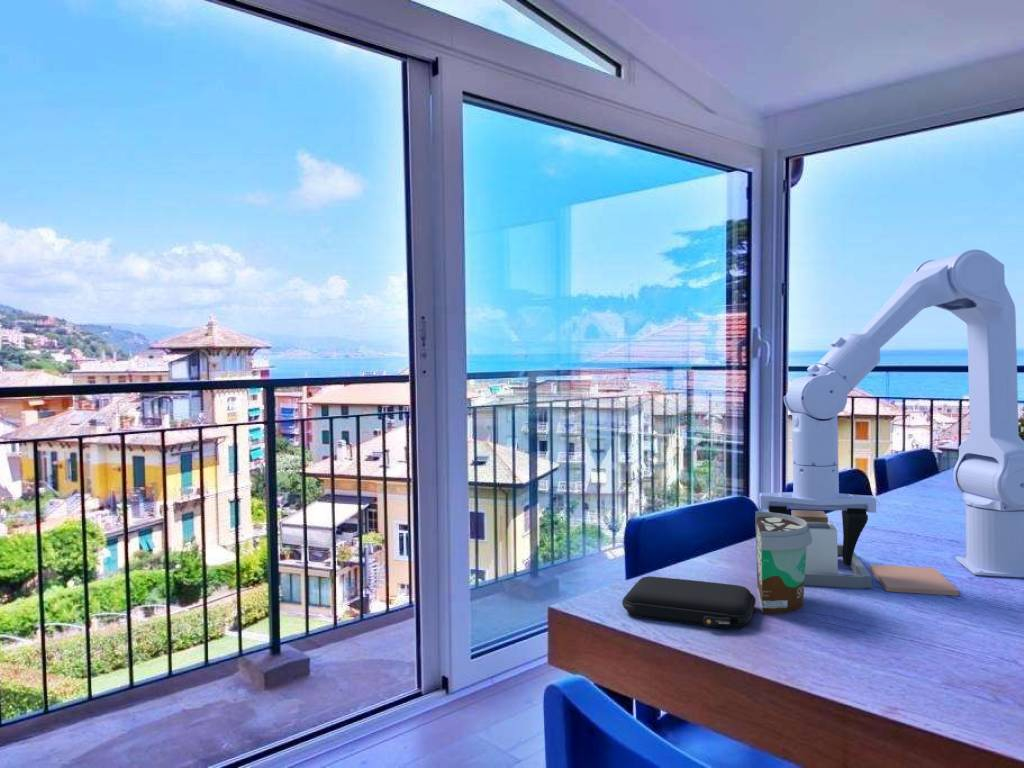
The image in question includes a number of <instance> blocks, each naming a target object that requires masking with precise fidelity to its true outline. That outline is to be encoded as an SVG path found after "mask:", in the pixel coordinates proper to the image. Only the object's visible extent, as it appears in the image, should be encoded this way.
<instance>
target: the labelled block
mask: <svg viewBox="0 0 1024 768" xmlns="http://www.w3.org/2000/svg"><path fill="white" fill-rule="evenodd" d="M807 526H808V527H809V529H810V533H811V537H812V543H811V544H810V545H808V546H807V547H806V564H805V572H818V573H836V574H839V573H838V572H839V570H838V569H839V566H838V565H839V564H838V563H839V561H838V556H839V555H838V553H837V544H838V530H837V528H836V527H835V525H834V524H833V523H832V522H828V523H827V522H807Z"/></svg>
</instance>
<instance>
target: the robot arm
mask: <svg viewBox="0 0 1024 768" xmlns="http://www.w3.org/2000/svg"><path fill="white" fill-rule="evenodd" d="M1005 278H1006V277H1005V264H1004V263H1002V262H1001V261H1000V260H998V259H996V257H994V256H992V255H991V254H990V253H989V252H987V251H985V250H981V249H968V250H965V251H963V252H961V253H958V254H953V255H950V256H946V257H941V258H937V259H929V260H926V261H923V262H922V263H920V264H919V265H918V266H917V267H915V269H914V271H913V272H911V273H909V274H908V275H907V276H905V277H904V278H903V280H902V282H901V284H900V286H899V287H898V288H897V289H896V291H894V293H893V294H892V295H891V296H890V297H889V298H888V300H887V301H886V302H885V303H884V304H883V305H882V306H881V307H880V309H878V311H877V312H876V313H875V314H874V316H872V318H871V319H870V320H869V321H868V322H867V323H866V325H865V326H863V328H862V329H861V330H860V332H858V333H848V334H847V333H845V334H844V335H843V336H842V337H834V339H833V340H832V341H830V343H829V344H830V346H831V348H830V349H829V350H828V351H827V352H826V353H825V354H824V355H823V356H822V358H820V359H819V361H818V362H816V363H815V364H814V363H813V364H811V365H810V366H808V367H807V369H806V371H807V375H804V376H802V377H797V378H796V379H794V380H793V381H792V382H791V383H790V384H789V387H788V388H787V392H786V395H784V396H783V403H784V406H785V407H786V409H787V410H788V411H789V413H790V414H791V418H792V421H791V423H792V425H791V427H792V429H791V432H792V433H791V435H792V436H791V439H792V440H791V441H792V481H793V483H792V484H793V485H792V488H793V490H792V491H790V492H789V491H787V492H785V491H784V492H759V508H760V510H768V512H772V513H780V514H786V515H790V514H789V513H790V512H789V509H790V510H809V511H841V517H842V518H841V520H842V532H843V533H842V535H843V537H842V538H843V539H842V545H843V556H842V562H843V564H844V565H845V566H847V567H850V566H851V562H852V556H853V552H854V553H855V548H856V545H857V543H858V540H859V538H860V536H861V533H862V532H863V530H864V528H865V526H866V525H867V523H868V519H869V515H868V514H867V513H877V498H876V497H875V496H874V495H863V494H850V493H840V489H839V488H840V486H839V484H840V481H839V479H840V478H839V477H840V476H839V475H840V474H839V473H840V472H839V471H840V470H839V429H838V415H839V414H840V413H842V412H844V410H845V408H846V405H847V402H848V395H849V394H850V393H851V392H852V391H853V390H854V389H855V388H856V387H857V386H858V385H859V384H860V383H861V382H862V381H863V379H865V377H867V376H868V375H869V374H870V372H871V371H872V370H874V369H875V367H877V365H878V364H879V363H880V361H881V348H883V346H885V345H886V344H887V342H889V341H890V340H891V339H892V338H893V337H895V335H897V333H899V332H900V331H901V330H902V329H903V328H904V327H905V326H906V325H908V323H910V321H912V320H913V319H914V318H915V317H916V316H918V315H919V313H921V312H922V311H923V310H925V309H926V308H930V307H937V308H939V309H942V310H944V311H948V312H950V313H952V314H953V315H954V316H956V317H957V318H958V319H960V320H961V321H963V322H964V323H965V324H966V327H967V328H966V330H967V331H966V332H967V363H968V364H967V365H968V367H967V368H968V373H967V374H968V406H969V407H968V408H969V435H968V437H967V438H965V440H964V441H963V442H962V443H961V444H960V445H959V447H958V460H957V461H956V464H955V466H954V467H953V468H954V469H953V473H952V479H953V483H954V485H955V487H956V489H958V491H959V492H960V493H962V501H964V502H965V544H966V545H965V549H966V550H965V552H966V553H965V554H966V556H962V555H961V556H960V555H959V556H957V555H956V556H955V560H956V561H958V562H959V563H960V564H961V565H962V566H964V567H965V568H966V569H967V570H968V571H970V572H971V573H972V574H973V575H975V576H990V577H994V576H995V577H1007V578H1009V577H1011V578H1024V440H1023V439H1022V438H1021V437H1020V436H1019V404H1018V403H1019V401H1018V400H1019V399H1018V397H1019V396H1018V395H1019V394H1018V365H1017V363H1018V360H1017V357H1018V355H1017V353H1018V351H1017V320H1016V316H1017V315H1016V313H1017V311H1016V306H1015V302H1014V300H1013V298H1012V295H1011V293H1010V292H1009V290H1008V287H1007V284H1006V283H1005V282H1006V281H1005Z"/></svg>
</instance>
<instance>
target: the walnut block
mask: <svg viewBox="0 0 1024 768" xmlns="http://www.w3.org/2000/svg"><path fill="white" fill-rule="evenodd" d="M790 510H791V516H795V517H798V518H801V519H803V520H805V521H806V522H827V523H829V517H828V515H827V513H826V512H825V510H806V509H790Z"/></svg>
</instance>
